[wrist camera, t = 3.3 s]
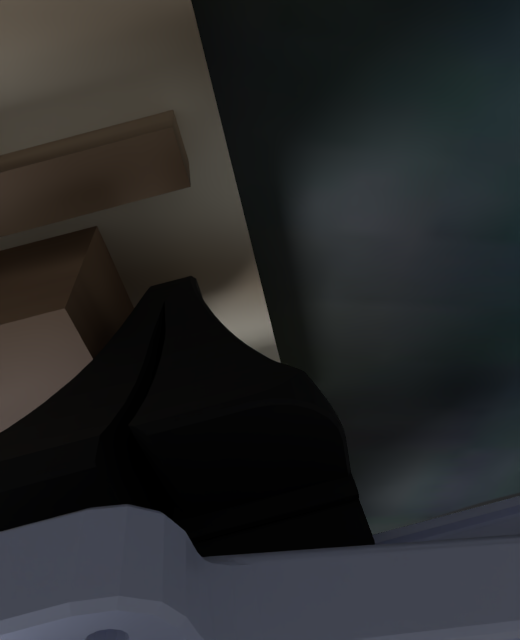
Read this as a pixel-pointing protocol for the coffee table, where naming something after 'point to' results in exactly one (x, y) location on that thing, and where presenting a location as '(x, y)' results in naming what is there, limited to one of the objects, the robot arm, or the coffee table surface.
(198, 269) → the deck
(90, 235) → the block
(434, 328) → the coffee table surface
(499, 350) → the coffee table surface
